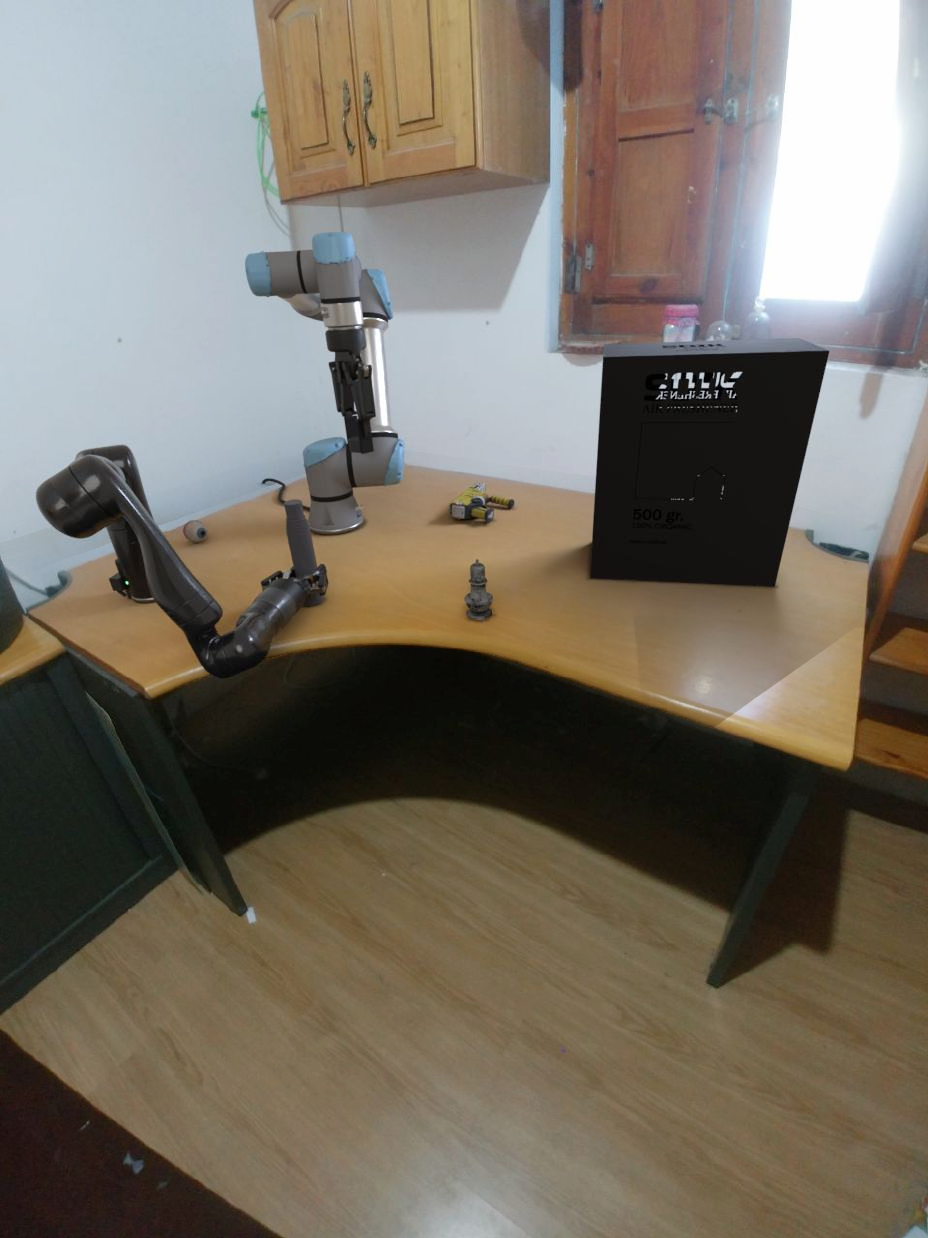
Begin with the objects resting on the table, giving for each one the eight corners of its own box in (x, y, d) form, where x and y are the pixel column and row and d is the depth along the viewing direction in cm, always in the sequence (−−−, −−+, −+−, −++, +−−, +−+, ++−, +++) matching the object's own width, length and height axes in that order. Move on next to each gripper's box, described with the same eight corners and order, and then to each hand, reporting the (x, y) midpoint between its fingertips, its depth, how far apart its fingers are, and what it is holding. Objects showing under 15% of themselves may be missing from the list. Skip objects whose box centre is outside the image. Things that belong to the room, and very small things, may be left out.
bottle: (327, 601, 130) (308, 501, 119) (306, 608, 127) (285, 507, 116) (317, 593, 133) (298, 496, 122) (297, 600, 131) (276, 502, 120)
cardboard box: (755, 547, 142) (798, 337, 120) (774, 586, 125) (829, 350, 102) (592, 542, 150) (603, 344, 127) (589, 578, 133) (603, 356, 110)
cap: (345, 450, 127) (343, 439, 126) (362, 446, 130) (361, 434, 129) (359, 453, 124) (357, 441, 123) (376, 448, 127) (374, 437, 126)
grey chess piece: (491, 621, 118) (489, 566, 112) (462, 620, 120) (458, 565, 114) (496, 607, 123) (494, 553, 117) (468, 605, 124) (465, 552, 118)
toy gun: (522, 487, 180) (475, 480, 184) (500, 511, 160) (447, 502, 164) (521, 502, 182) (474, 495, 186) (499, 527, 162) (447, 519, 166)
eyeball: (196, 547, 160) (190, 526, 157) (181, 543, 163) (175, 522, 160) (215, 539, 164) (209, 518, 161) (200, 536, 167) (194, 515, 164)
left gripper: (308, 589, 112) (340, 552, 126) (237, 586, 114) (277, 550, 129) (315, 624, 116) (345, 584, 130) (246, 620, 118) (284, 581, 133)
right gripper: (306, 328, 120) (325, 446, 131) (349, 331, 107) (366, 461, 119) (340, 324, 124) (356, 440, 135) (385, 327, 111) (398, 453, 123)
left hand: (311, 567), depth 129 cm, fingers closed on bottle, 4 cm apart
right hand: (360, 449), depth 127 cm, fingers closed on cap, 4 cm apart
